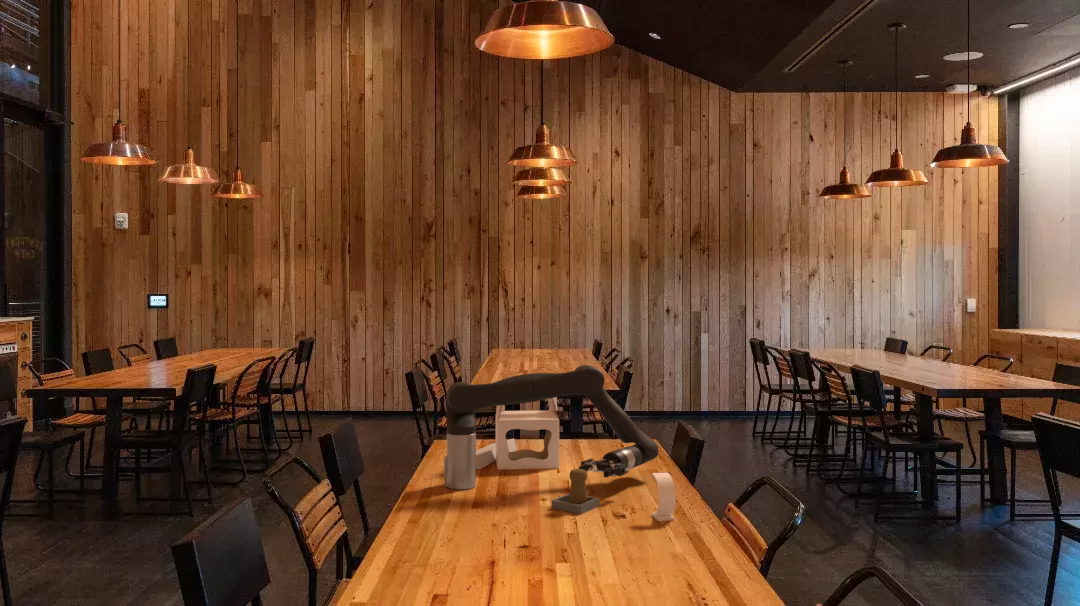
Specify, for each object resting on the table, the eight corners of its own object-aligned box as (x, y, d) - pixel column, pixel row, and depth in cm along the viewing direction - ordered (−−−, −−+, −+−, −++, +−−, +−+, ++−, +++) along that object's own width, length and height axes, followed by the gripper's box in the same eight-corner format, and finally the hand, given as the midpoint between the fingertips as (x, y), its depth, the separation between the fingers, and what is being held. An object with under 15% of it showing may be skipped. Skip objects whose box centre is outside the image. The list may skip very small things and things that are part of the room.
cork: (566, 504, 218) (566, 467, 217) (586, 503, 218) (587, 466, 218) (569, 510, 212) (569, 472, 211) (590, 510, 212) (590, 471, 212)
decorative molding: (455, 475, 263) (480, 470, 259) (452, 462, 263) (477, 456, 260) (494, 455, 295) (517, 450, 291) (491, 443, 295) (514, 438, 292)
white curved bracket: (667, 514, 208) (667, 472, 208) (675, 521, 202) (676, 477, 202) (651, 515, 207) (652, 473, 207) (659, 522, 201) (660, 478, 201)
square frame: (551, 508, 214) (551, 500, 214) (570, 500, 222) (570, 492, 222) (580, 514, 208) (581, 506, 208) (599, 505, 216) (599, 498, 216)
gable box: (554, 459, 275) (555, 384, 274) (559, 468, 262) (560, 389, 261) (494, 461, 272) (495, 385, 272) (496, 470, 259) (497, 390, 258)
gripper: (599, 447, 240) (572, 456, 226) (638, 452, 231) (613, 462, 218) (599, 470, 240) (572, 480, 226) (638, 476, 232) (612, 488, 218)
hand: (592, 471), depth 222 cm, fingers open, 8 cm apart
